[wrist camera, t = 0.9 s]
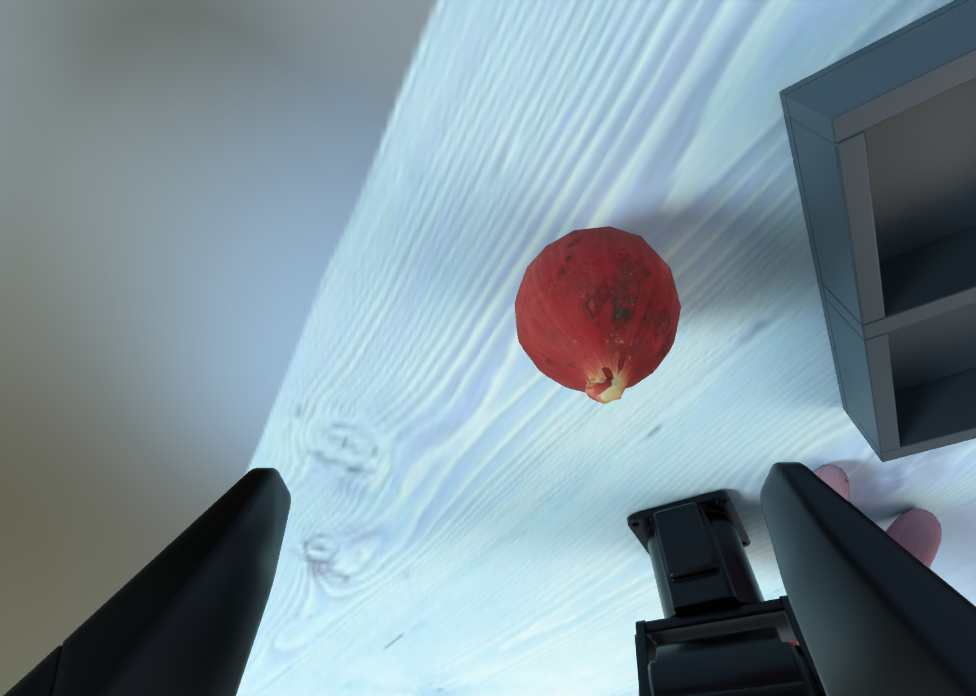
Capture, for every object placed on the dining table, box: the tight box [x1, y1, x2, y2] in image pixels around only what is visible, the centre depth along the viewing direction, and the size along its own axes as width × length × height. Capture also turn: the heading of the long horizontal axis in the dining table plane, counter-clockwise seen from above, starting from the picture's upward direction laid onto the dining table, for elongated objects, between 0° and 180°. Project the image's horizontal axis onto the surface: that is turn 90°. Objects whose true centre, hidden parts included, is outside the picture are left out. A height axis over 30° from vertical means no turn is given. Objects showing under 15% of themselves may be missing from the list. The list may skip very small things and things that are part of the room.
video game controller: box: [813, 465, 941, 568], centre depth 29 cm, size 10×5×7 cm, turn 61°
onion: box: [515, 227, 681, 404], centre depth 18 cm, size 6×6×8 cm
